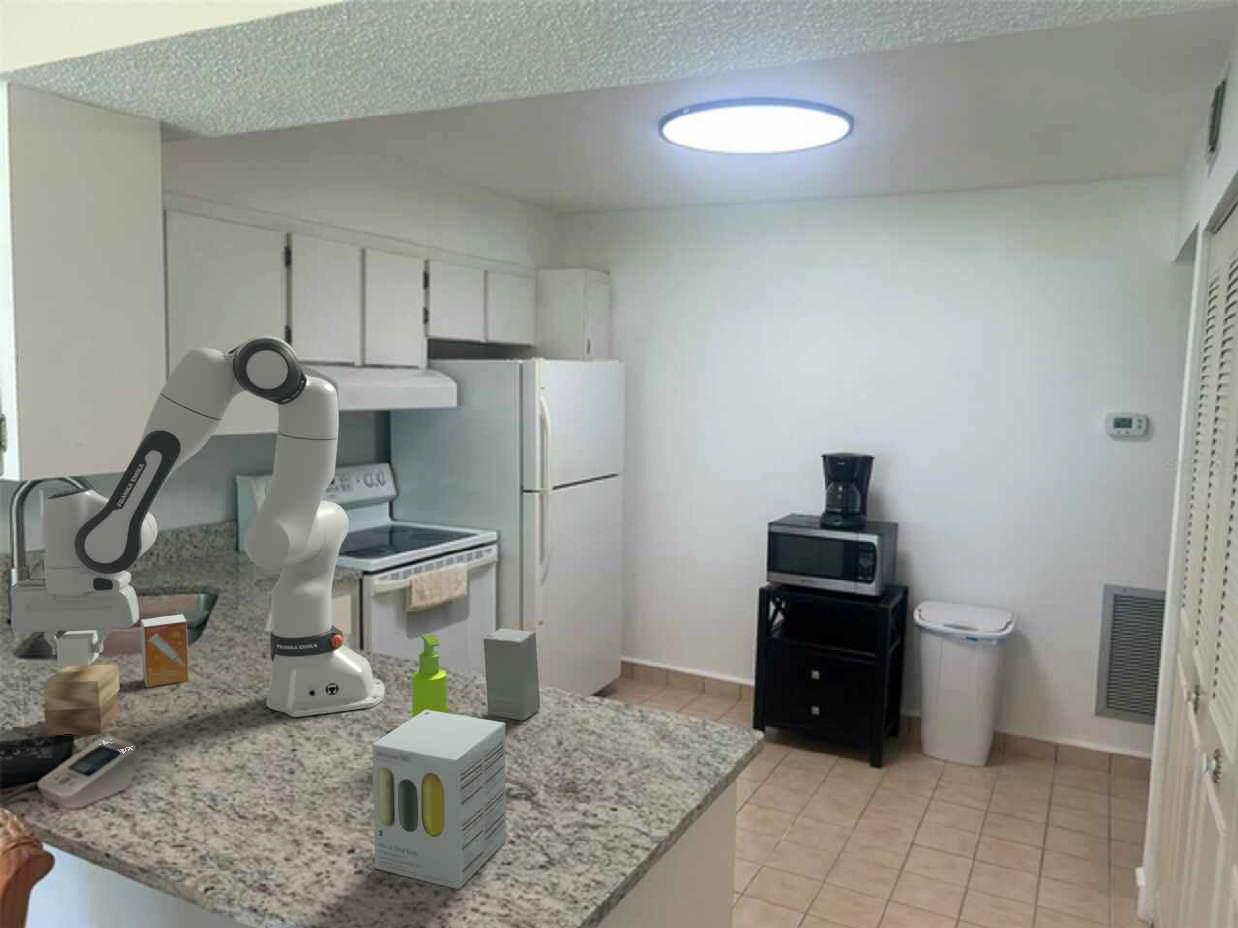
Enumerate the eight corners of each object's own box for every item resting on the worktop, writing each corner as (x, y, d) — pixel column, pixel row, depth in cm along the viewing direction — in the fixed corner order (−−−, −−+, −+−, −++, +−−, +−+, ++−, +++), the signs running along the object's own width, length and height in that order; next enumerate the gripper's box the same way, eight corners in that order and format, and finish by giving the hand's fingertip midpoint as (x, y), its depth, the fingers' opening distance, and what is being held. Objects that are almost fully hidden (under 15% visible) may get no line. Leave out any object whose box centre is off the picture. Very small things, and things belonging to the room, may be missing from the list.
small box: (146, 688, 183) (143, 626, 181) (143, 679, 188) (139, 618, 187) (189, 681, 187) (187, 620, 186) (185, 672, 193) (182, 613, 191)
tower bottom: (119, 714, 170) (117, 689, 169) (101, 733, 161) (99, 707, 161) (66, 717, 168) (65, 692, 168) (46, 737, 159) (44, 710, 159)
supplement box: (371, 869, 119) (368, 743, 117) (427, 822, 131) (425, 707, 129) (459, 891, 114) (457, 760, 112) (508, 840, 126) (507, 721, 124)
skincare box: (540, 710, 173) (540, 630, 171) (521, 723, 167) (521, 641, 165) (503, 703, 177) (502, 625, 175) (483, 716, 170) (482, 635, 168)
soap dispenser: (419, 758, 152) (417, 644, 149) (409, 743, 158) (407, 632, 156) (453, 751, 154) (452, 639, 152) (441, 736, 161) (440, 628, 158)
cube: (98, 656, 166) (97, 629, 166) (88, 665, 161) (86, 638, 161) (69, 657, 165) (67, 631, 165) (58, 666, 161) (56, 639, 160)
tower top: (119, 689, 169) (118, 664, 169) (99, 707, 160) (98, 680, 160) (68, 691, 168) (66, 666, 167) (45, 710, 159) (43, 683, 158)
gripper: (1, 584, 157) (6, 661, 158) (128, 580, 160) (132, 655, 162) (18, 576, 163) (22, 650, 164) (140, 572, 167) (143, 644, 168)
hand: (78, 652), depth 163 cm, fingers closed on cube, 5 cm apart
